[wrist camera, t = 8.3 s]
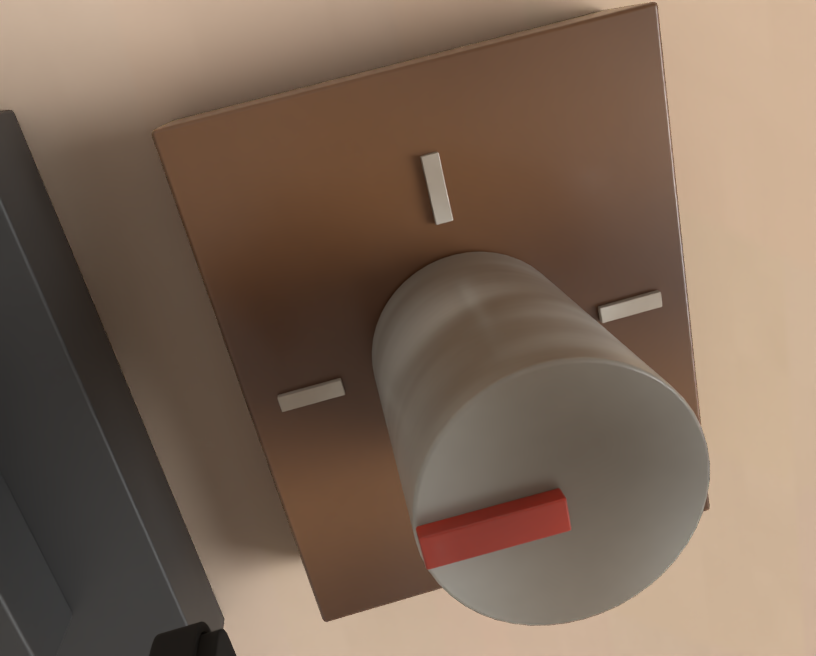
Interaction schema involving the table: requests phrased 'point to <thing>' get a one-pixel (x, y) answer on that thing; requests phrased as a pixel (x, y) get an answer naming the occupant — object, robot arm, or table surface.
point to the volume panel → (423, 247)
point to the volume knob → (532, 444)
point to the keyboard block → (76, 458)
